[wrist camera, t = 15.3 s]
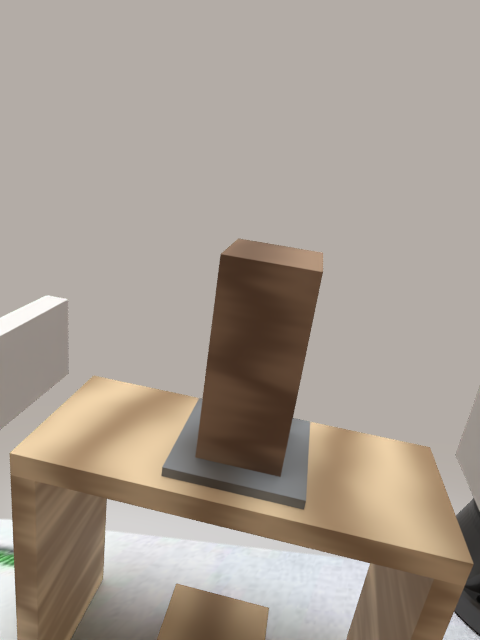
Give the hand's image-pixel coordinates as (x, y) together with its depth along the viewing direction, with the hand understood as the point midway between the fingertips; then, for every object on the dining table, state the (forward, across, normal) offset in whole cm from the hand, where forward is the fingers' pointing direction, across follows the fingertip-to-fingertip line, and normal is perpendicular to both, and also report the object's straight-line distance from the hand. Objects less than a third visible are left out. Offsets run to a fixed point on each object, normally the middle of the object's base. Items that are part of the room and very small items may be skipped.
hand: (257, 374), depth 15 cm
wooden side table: (+11, -1, -32) cm, 33 cm away
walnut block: (+11, -1, -10) cm, 15 cm away
